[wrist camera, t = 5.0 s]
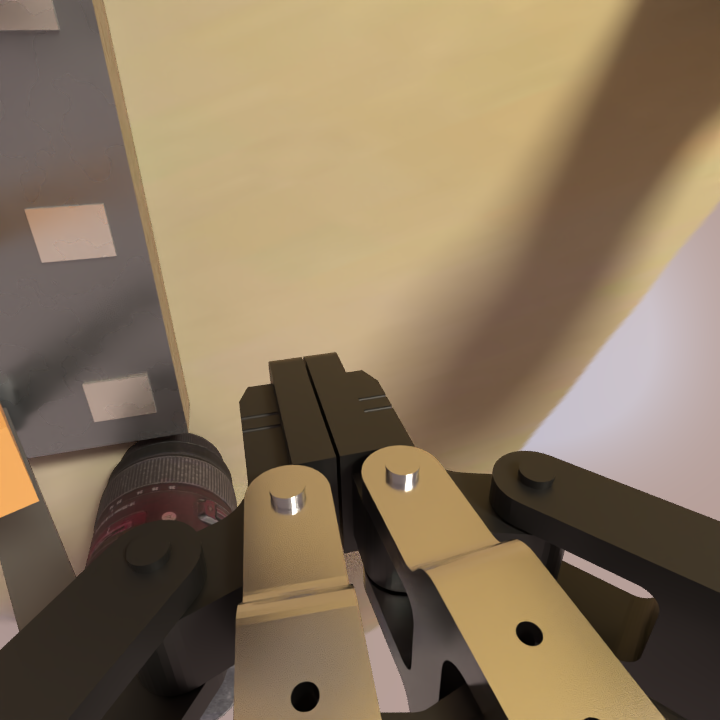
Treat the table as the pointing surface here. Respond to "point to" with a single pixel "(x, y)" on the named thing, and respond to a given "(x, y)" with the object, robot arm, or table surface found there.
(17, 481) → the lever mid
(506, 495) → the robot arm
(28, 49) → the breaker panel
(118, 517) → the camera lens
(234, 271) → the table surface
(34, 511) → the lever high
